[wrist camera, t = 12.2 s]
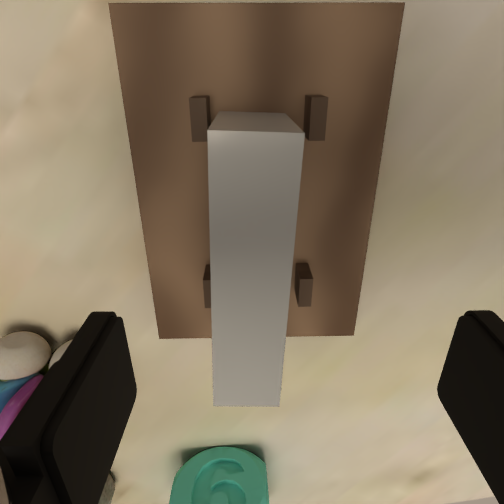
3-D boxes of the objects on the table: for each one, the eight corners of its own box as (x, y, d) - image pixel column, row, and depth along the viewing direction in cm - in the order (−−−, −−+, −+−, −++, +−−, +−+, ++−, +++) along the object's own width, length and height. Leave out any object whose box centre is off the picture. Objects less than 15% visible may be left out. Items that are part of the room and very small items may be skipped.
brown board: (393, 7, 18) (423, -6, 15) (348, 322, 27) (361, 354, 24) (118, 8, 18) (92, -5, 15) (163, 325, 27) (153, 358, 24)
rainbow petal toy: (125, 409, 31) (94, 497, 25) (8, 398, 30) (-56, 486, 24) (126, 332, 28) (90, 413, 21) (-7, 317, 27) (-88, 396, 20)
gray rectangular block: (284, 113, 19) (304, 132, 13) (270, 324, 25) (279, 406, 19) (219, 111, 19) (207, 130, 13) (220, 323, 25) (213, 406, 19)
